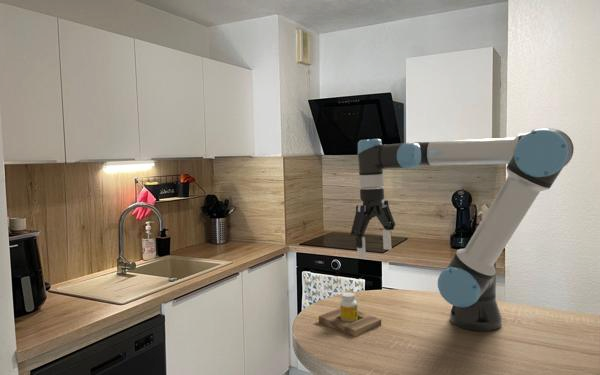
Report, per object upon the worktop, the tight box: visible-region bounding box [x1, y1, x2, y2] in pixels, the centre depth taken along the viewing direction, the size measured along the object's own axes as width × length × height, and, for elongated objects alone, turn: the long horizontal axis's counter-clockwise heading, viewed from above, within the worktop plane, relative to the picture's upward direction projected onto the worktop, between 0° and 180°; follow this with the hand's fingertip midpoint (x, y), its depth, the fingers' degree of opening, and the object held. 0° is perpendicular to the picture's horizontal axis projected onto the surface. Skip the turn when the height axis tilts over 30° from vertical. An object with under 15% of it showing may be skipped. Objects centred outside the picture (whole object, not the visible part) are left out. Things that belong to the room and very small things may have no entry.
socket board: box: [318, 307, 382, 338], centre depth 148 cm, size 16×12×2 cm
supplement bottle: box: [339, 292, 358, 323], centre depth 148 cm, size 5×5×10 cm
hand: (375, 253), depth 149 cm, fingers open, 13 cm apart
